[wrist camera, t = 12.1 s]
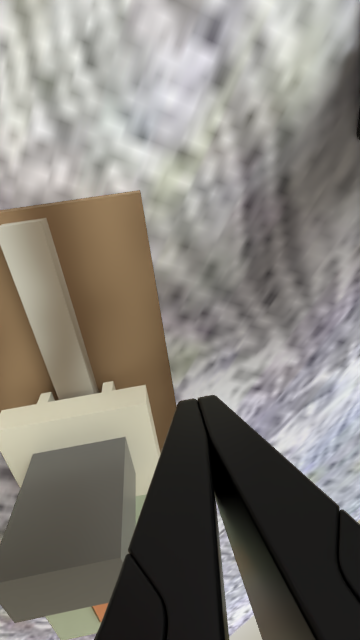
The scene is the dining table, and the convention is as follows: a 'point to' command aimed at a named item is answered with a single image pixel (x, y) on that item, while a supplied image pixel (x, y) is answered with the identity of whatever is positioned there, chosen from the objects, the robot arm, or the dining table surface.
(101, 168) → the dining table surface
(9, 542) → the carriage
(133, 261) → the rail track
